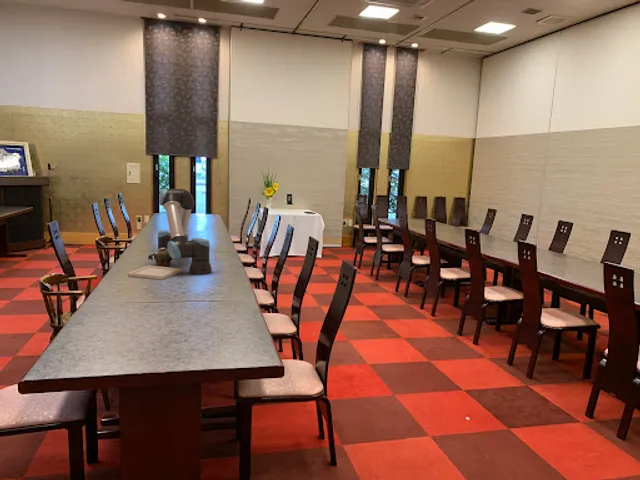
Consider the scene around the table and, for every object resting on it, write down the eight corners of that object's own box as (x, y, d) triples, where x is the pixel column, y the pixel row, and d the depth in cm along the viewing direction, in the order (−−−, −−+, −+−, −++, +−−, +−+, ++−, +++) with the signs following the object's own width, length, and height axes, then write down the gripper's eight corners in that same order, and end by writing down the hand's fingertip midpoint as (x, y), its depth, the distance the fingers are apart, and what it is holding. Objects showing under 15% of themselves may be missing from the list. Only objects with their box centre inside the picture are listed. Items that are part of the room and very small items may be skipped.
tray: (180, 272, 320) (180, 268, 320) (162, 280, 297) (162, 276, 296) (148, 268, 324) (148, 265, 324) (127, 276, 301) (127, 272, 301)
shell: (174, 266, 336) (174, 249, 334) (167, 269, 325) (167, 252, 323) (159, 265, 337) (159, 248, 335) (152, 268, 326) (152, 251, 324)
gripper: (180, 258, 352) (182, 264, 332) (145, 258, 343) (144, 265, 324) (180, 248, 350) (182, 253, 331) (145, 248, 342) (144, 254, 322)
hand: (163, 259), depth 327 cm, fingers open, 13 cm apart
